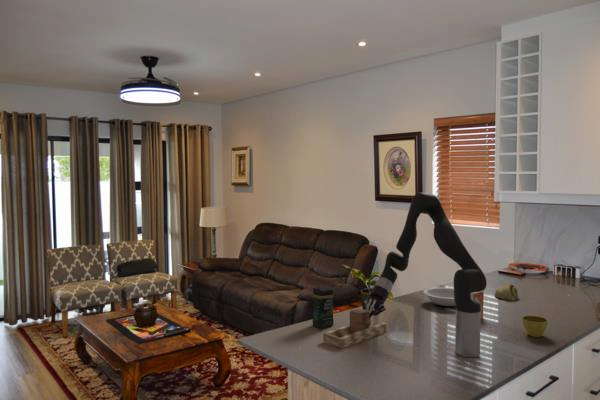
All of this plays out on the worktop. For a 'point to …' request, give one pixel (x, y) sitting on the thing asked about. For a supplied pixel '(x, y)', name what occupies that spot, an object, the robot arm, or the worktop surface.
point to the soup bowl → (441, 296)
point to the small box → (478, 299)
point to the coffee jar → (323, 306)
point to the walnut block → (359, 320)
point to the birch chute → (351, 335)
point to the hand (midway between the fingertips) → (364, 321)
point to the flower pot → (534, 325)
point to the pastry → (507, 293)
